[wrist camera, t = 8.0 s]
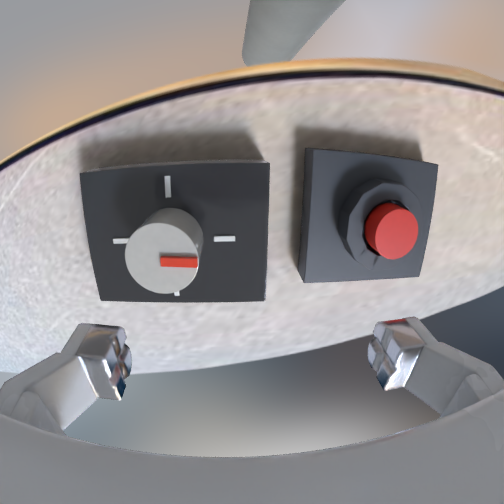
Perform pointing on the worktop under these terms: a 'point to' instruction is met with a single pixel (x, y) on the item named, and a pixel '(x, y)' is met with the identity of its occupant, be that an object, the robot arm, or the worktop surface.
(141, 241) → the knob
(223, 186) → the hob knob base
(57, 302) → the worktop surface
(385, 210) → the button
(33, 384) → the robot arm
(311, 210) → the block
